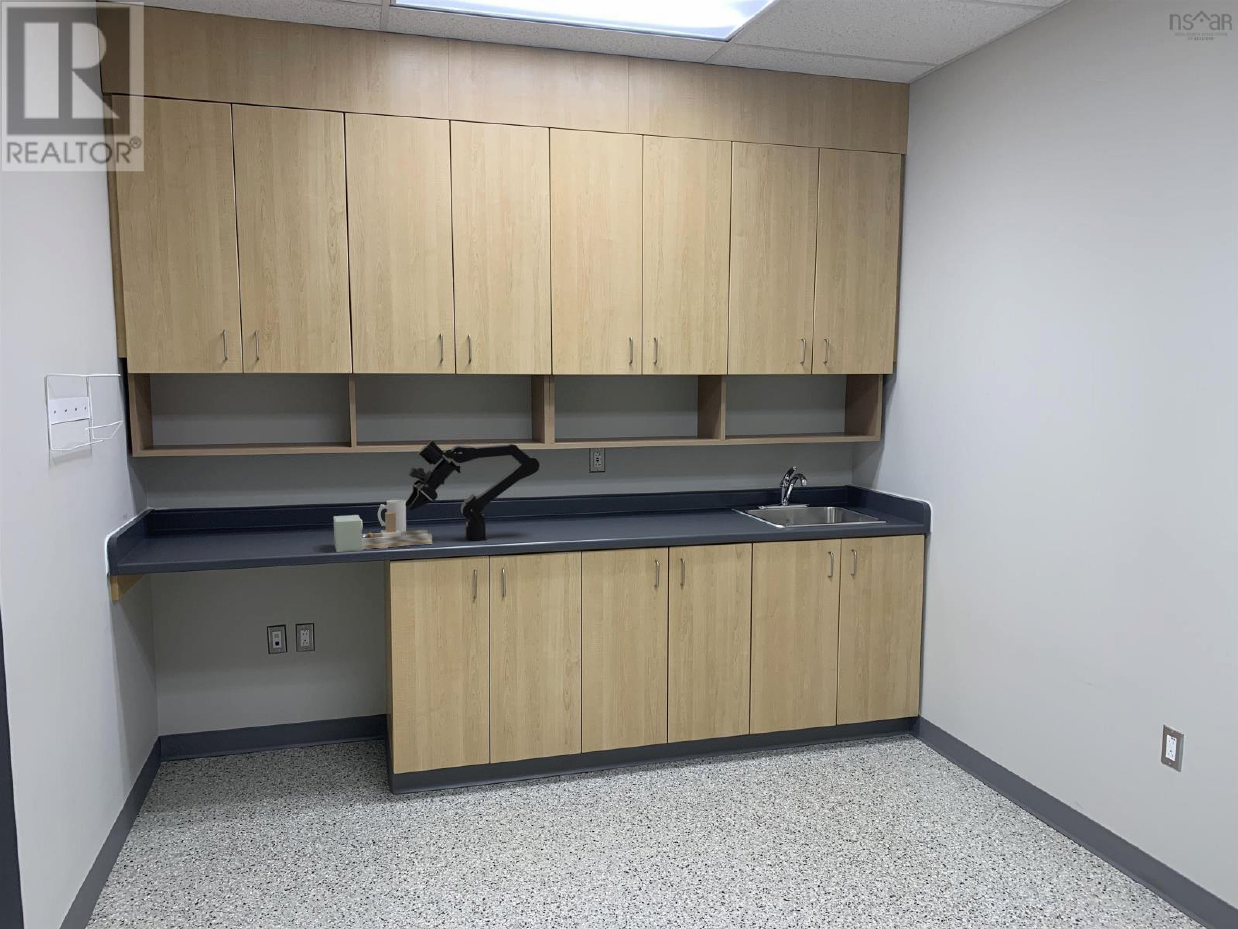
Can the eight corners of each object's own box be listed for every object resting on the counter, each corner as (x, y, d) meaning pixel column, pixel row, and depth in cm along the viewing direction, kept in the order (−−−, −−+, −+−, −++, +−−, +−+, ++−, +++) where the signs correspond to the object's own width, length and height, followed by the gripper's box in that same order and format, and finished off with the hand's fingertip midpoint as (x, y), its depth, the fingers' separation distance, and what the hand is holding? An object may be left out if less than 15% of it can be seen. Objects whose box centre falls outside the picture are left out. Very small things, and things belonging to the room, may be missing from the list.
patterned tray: (427, 539, 294) (427, 529, 293) (432, 544, 284) (432, 534, 284) (359, 544, 285) (359, 534, 285) (362, 549, 276) (361, 539, 276)
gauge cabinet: (360, 543, 286) (359, 514, 285) (363, 550, 275) (362, 520, 274) (334, 545, 283) (333, 516, 282) (336, 552, 272) (335, 522, 271)
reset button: (371, 539, 284) (371, 532, 284) (373, 542, 279) (372, 534, 279) (353, 541, 282) (353, 533, 282) (354, 543, 277) (354, 536, 277)
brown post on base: (398, 537, 288) (398, 511, 287) (401, 541, 282) (400, 513, 281) (381, 539, 286) (380, 512, 285) (383, 542, 280) (382, 514, 279)
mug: (407, 531, 309) (406, 499, 308) (406, 534, 302) (405, 502, 301) (379, 532, 307) (378, 500, 306) (377, 535, 300) (376, 502, 299)
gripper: (418, 456, 294) (386, 488, 291) (427, 461, 277) (393, 495, 274) (441, 477, 298) (410, 509, 295) (451, 483, 281) (418, 517, 278)
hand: (407, 507), depth 285 cm, fingers open, 9 cm apart
